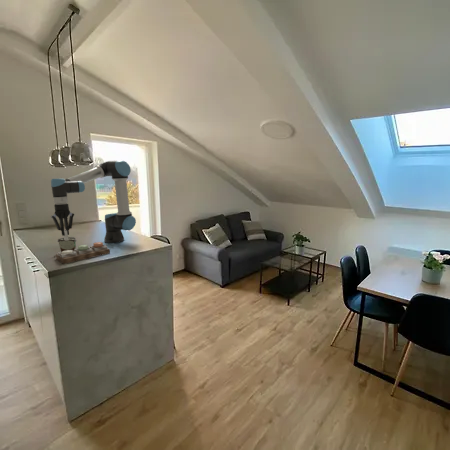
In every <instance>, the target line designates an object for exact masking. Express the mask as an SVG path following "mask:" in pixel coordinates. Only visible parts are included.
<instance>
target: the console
mask: <svg viewBox="0 0 450 450" xmlns="http://www.w3.org/2000/svg"><path fill="white" fill-rule="evenodd" d="M110 250H111V249H110V248H109V247H108V246H107V245H105V244H103V247H98V248H94V246H93V245H90V246H88V250H84V251H79V250H78V248H76V249H74V251H73V250H72V253H69V254H64V255H63V254H62V252H61V251H58V252H57V254H55V259H56V260H57V261H59V262H60V263H62V264H64V265H65V264H68V263H73V262H77V261H83V260H87V259H91V258H94V257H99V256H103V255H108V254H109V255H110V253H111V251H110Z"/></svg>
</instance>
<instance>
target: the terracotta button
mask: <svg viewBox="0 0 450 450" xmlns="http://www.w3.org/2000/svg"><path fill="white" fill-rule="evenodd" d="M103 245H104V243H103V242H102V241H97V242H94V243H93V244H92V246H94V248H98V247H103Z"/></svg>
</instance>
